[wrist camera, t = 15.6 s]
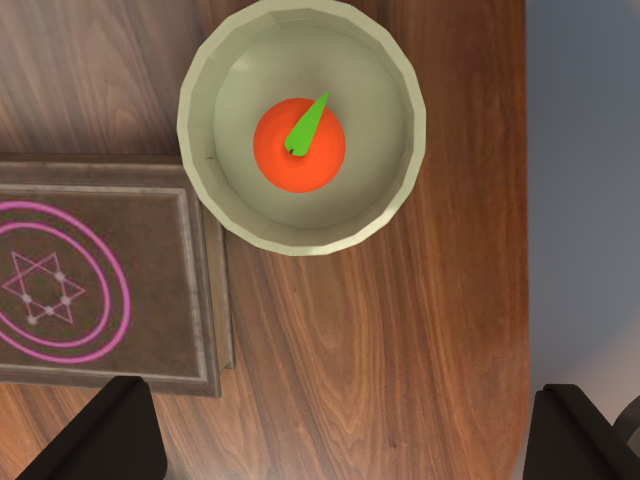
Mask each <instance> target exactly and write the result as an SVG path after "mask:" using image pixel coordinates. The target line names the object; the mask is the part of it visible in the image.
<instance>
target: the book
mask: <svg viewBox="0 0 640 480" xmlns="http://www.w3.org/2000/svg"><path fill="white" fill-rule="evenodd" d="M205 159H214V158H212V157H208V158H205ZM224 368H226V369H234V368H235V354H234V342H233V331H232V319H231V307H230V295H229V283H228V271H227V259H226V247H225V235H224V226H223V225H222V224H221V222H220V221H219V220H218V219H217V218H216V217H215V216H214V215H213V214H212V213H211V211H210V210H209V209H208V208H207V207H206V206H205V205H204V204H203V203H202V202H201V201H200V199H199V197H198V195H197V193H196V191H195V189H194V187H193V185H192V183H191V181H190V179H189V177H188V175H187V173H186V171H185V169H184V166H183V161H182V156H181V155H132V154H68V153H5V152H0V382H2V383H15V384H29V385H42V386H55V387H68V388H82V389H95V390H101V389H102V388H103V387H104V386H105V385H106V384H107V383H108V382H109V381H110V380H111V379H112V378H113V377H115V376H118V375H126V376H141V377H142V378H143V380H144V382H147V383H148V385H149V388H150V392H151V394H162V395H175V396H188V397H202V398H215V399H220V397H221V385H220V375H221V373H222V370H223V369H224Z"/></svg>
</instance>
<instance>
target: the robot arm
mask: <svg viewBox="0 0 640 480" xmlns="http://www.w3.org/2000/svg"><path fill="white" fill-rule="evenodd" d="M167 464H168V463H167V457H166V453H165V449H164V445H163V441H162V437H161V433H160V429H159V425H158V420H157V416H156V412H155V408H154V404H153V400H152V396H151V392H150V388H149V385H148V383H147V382H144V380H143V378H142V377H141V376H126V375H118V376H115V377H113V378H112V379H111V380H110V381H109V382H108V383H107V384H106V385H105V386H104V387H103V388H102V389H101V390H100V392H99V393H98V394H97V395H96V396H95V397H94V398H93V399H92V400H91V401H90V402H89V403H88V404H87V405H86V406H85V407H84V408H83V409H82V410H81V411H80V412H79V413H78V414H77V416H76V417H75V418H74V419H73V420H72V421H71V422H70V423H69V424H68V425H67V426H66V427H65V428H64V429H63V430H62V431H61V432H60V433H59V434H58V435H57V436H56V437H55V438H54V439H53V441H52V442H51V443H50V444H49V445H48V446H47V447H46V448H45V449H44V450H43V451H42V452H41V453H40V454H39V455H38V456H37V457H36V458H35V459H34V460H33V461H32V462H31V463H30V465H29V466H28V467H27V468H26V469H25V470H24V471H23V472H22V473H21V474H20V475H19V476H18V477H17V478H16V479H15V480H163V479H164V477H165V475H166V472H167ZM523 480H640V457H638V456H637V455H636V454H635V453H634V452H633V451H632V450H631V448H630V447H629V446H628V445H627V444H626V442H625V441H624V440H623V439H622V438H621V436H620V435H619V434H618V433H617V432H616V431H615V429H614V428H613V427H612V426H611V425H610V423H609V422H608V421H607V420H606V419H605V418H604V416H603V415H602V414H601V413H600V411H599V410H598V409H597V408H596V407H595V406H594V404H593V403H592V402H591V401H590V400H589V398H588V397H587V396H586V395H585V394H584V393H583V391H582V390H581V389H580V388H579V387H578V386H576V385H574V384H546V385H545V386H544V388H543V391H537V392H536V395H535V401H534V408H533V414H532V420H531V427H530V433H529V439H528V446H527V452H526V459H525V465H524V471H523Z"/></svg>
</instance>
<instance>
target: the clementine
mask: <svg viewBox="0 0 640 480" xmlns="http://www.w3.org/2000/svg"><path fill="white" fill-rule="evenodd" d="M329 93H330V91H328V92H327V93H325V94H324V95H323V96H322V97H320V98H319V99H318V100H317V101H314V100H312V99H305V98H293V99H286V100H284V101H282V102H280V103H278V104H275V105H274V106H273V107H271V108H270V109H269V110H268V111H267V112H266V113H265V114H264V115H263V116H262V118H261V119H260V121H259V122H258V124H257V127H256V130H255V133H254V139H253V151H254V157H255V161H256V163H257V165H258V167H259V170H260V171H261V172H262V174H263V175H264V176H265V178H266V179H267V180H268V181H269V182H271V183H272V184H273V185H275V186H276V187H278V188H280V189H282V190H285V191H287V192H293V193H307V192H312V191H314V190H317V189H319V188H322V187H323V186H325V185H326V184H327V183H329V182H330V181H331V180H332V179H333V178H334V177H335V175H336V174H337V173H338V172H339V170H340V168H341V165H342V163H343V161H344V156H345V149H346V145H345V135H344V132H343V130H342V127H341V124H340V122H339V121H338V119H337V118H336V117H335V115H334V114H333V113H332V112H331V111H330V110H329V109H328V108H326V107H325V104H326V101H327V98H328V96H329Z"/></svg>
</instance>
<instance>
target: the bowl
mask: <svg viewBox="0 0 640 480" xmlns="http://www.w3.org/2000/svg"><path fill="white" fill-rule="evenodd" d="M328 91H330V93H329V96H328V98H327V101H326V104H325V107H326V108H328V109H329V110H330V111H331V112H332V113H333V114H334V115H335V117H336V118H337V119H338V121H339V122H340V124H341V127H342V130H343V132H344V135H345V145H346V149H345V156H344V161H343V163H342V165H341V168H340V170H339V172H338V173H337V174H336V175H335V177H334V178H333V179H332V180H331V181H330V182H329V183H327V184H326V185H325V186H323V187H322V188H319V189H317V190H314V191H312V192H307V193H293V192H287V191H285V190H282V189H280V188H278V187H276V186H275V185H273V184H272V183H271V182H269V181H268V180H267V179H266V178H265V176H264V175H263V174H262V172H261V171H260V170H259V167H258V165H257V163H256V161H255V157H254V151H253V139H254V133H255V130H256V127H257V124H258V122H259V121H260V119H261V118H262V116H263V115H264V114H265V113H266V112H267V111H268V110H269V109H270V108H271V107H273V106H274V105H275V104H278V103H280V102H282V101H284V100H286V99H293V98H305V99H312V100H314V101H317V100H318V99H319V98H320V97H322V96H323V95H324V94H325V93H327V92H328ZM176 127H177V134H178V139H179V145H180V150H181V156H182V161H183V166H184V169H185V171H186V173H187V175H188V177H189V179H190V181H191V183H192V185H193V187H194V189H195V191H196V193H197V195H198V197H199V199H200V201H201V202H202V203H203V204H204V205H205V206H206V207H207V208H208V209H209V210H210V211H211V213H212V214H213V215H214V216H215V217H216V218H217V219H218V220H219V221H220V222H221V224H222V225H223V226H224V227H225V228H226V229H228V230H229V231H231V232H233V233H234V234H236V235H238V236H239V237H241V238H242V239H244V240H246V241H247V242H249V243H251V244H252V245H254V246H256V247H258V248H262V249H266V250H270V251H273V252H277V253H281V254H284V255H288V256H290V255H291V256H306V255H325V254H326V255H327V254H330V253H333V252H336V251H339V250H342V249H344V248H347V247H350V246H353V245H356V244H359V243H361V242H362V241H363V240H365V239H366V238H368V237H369V236H370V235H372V234H373V233H374V232H376V231H377V230H378V229H380V228H381V227H383V226H384V225H385V224H387V223H388V222H389V221H390V220H391V218H392V217H393V215H394V214H395V213H396V211H397V210H398V209H399V207H400V206H401V205H402V203H403V202H404V201H405V199H406V198H407V196H408V195H409V194H410V192H411V191H412V189H413V186H414V183H415V180H416V177H417V174H418V171H419V169H420V166H421V163H422V160H423V157H424V154H425V153H424V152H425V135H426V108H425V105H424V101H423V98H422V94H421V91H420V87H419V84H418V81H417V77H416V74H415V70H414V69H413V66H412V65H411V63H410V62H409V60H408V59H407V57H406V56H405V55H404V53H403V52H402V50H401V49H400V47H399V46H398V44H397V43H396V42H395V40H394V39H393V37H392V36H391V34H390V33H389V32H388V31H387V30H386V29H385V28H383V27H382V26H380V25H379V24H378V23H376V22H375V21H373V20H372V19H371V18H369V17H368V16H366V15H365V14H364V13H362V12H361V11H359V10H358V9H357V8H355V7H354V6H351V5H350V4H346V3H342V2H339V1H335V0H260V1H258V2H256V3H254V4H252V5H250V6H248V7H246V8H244V9H242V10H240V11H238V12H237V13H235V14H233V15H231V16H229V17H227V18H226V19H225V20H224V21H223V22H222V23H221V24H220V25H219V26H218V28H217V29H216V30H215V31H214V32H213V33H212V34H211V35H210V36H209V37H208V38H207V39H206V40H205V42H204V43H203V44H202V45H201V46H200V47H199V49H198V50H197V52H196V55H195V57H194V59H193V61H192V64H191V66H190V68H189V70H188V73H187V75H186V77H185V79H184V81H183V84H182V87H181V90H180V99H179V108H178V117H177V126H176ZM208 157H212V158H214V159H205V158H208Z"/></svg>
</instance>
